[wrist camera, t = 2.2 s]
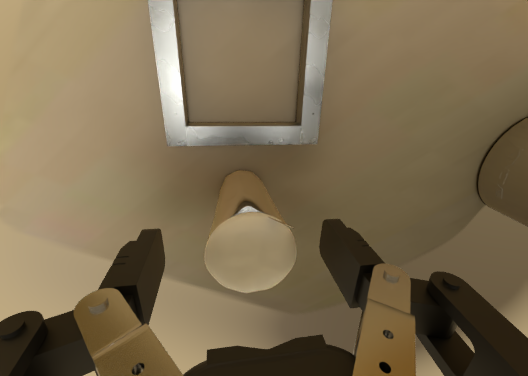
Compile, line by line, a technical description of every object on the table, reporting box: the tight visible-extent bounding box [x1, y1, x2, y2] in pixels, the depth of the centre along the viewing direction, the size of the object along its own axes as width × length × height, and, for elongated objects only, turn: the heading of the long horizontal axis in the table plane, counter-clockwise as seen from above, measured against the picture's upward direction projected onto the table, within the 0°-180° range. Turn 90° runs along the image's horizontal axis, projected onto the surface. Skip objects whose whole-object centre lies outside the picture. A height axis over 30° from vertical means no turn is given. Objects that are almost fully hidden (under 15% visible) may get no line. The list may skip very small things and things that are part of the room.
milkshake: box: [204, 170, 297, 293], centre depth 15 cm, size 4×5×10 cm
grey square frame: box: [148, 0, 333, 146], centre depth 16 cm, size 10×10×2 cm
